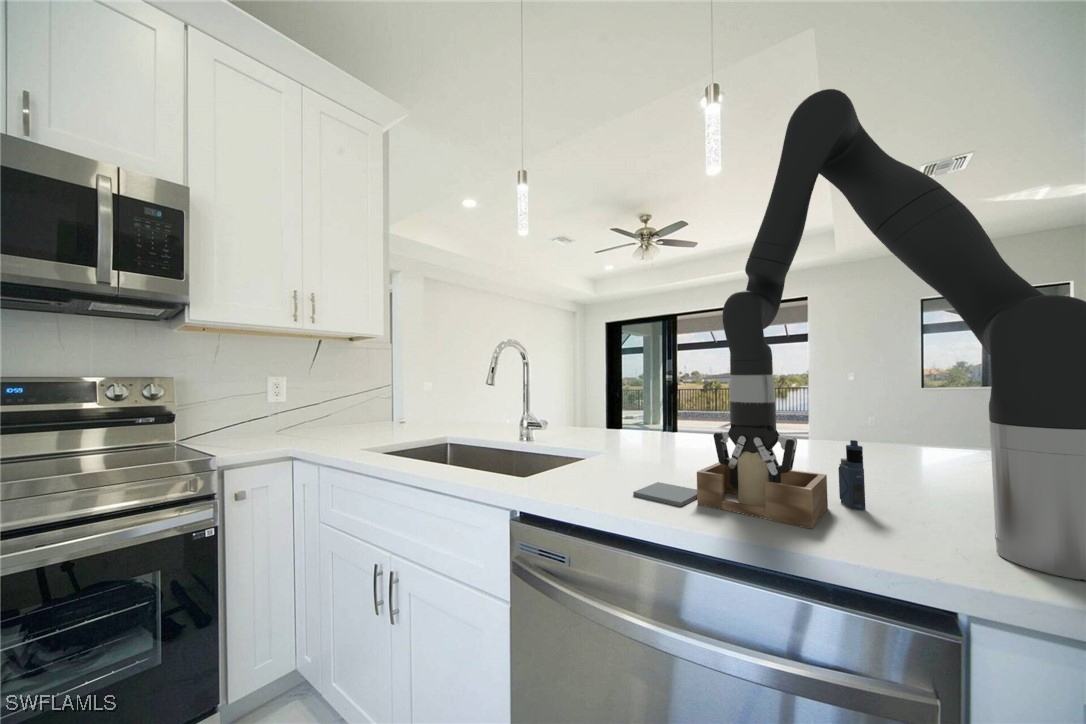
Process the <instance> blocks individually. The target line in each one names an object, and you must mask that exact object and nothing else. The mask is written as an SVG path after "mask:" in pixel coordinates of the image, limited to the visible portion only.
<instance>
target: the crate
mask: <svg viewBox="0 0 1086 724" xmlns="http://www.w3.org/2000/svg"><path fill="white" fill-rule="evenodd" d="M827 475H828V474H825V473H818V472H811V471H803V470H802V471H801V470H796V469H795V470H794V469H792V470H790V471H789V472H788V473H781V484H780V483H774V482H767V481H766V482H765V508H763V507H758V506H753V505H748V504H743V503H739V501H738V502H737V501H733V500H727V499H725V493H727V492H726V491H728V493H733V492H734V493H733V494H738V489H734V488H733V485H731V483H730V469H729V467H728V466H726V465H724V464H720V463H719V461H718V462H716V463H714V464H712V465H710V466H707V467H704V468H701V469H700V470H697V471H696V489H697V499H696V500H697V501H696V502H697V503H698V504H697V505H699V504H702V505H701V506H704V505H706V506H705V507H708V506H710V507H709V508H713V507H715V508H714V509H718V508H720V509H719V510H722V509H725V510H724V511H727V510H730V511H729V512H731V511H735V512H734V513H736V512H739V513H738V514H740V513H744V514H743V515H745V514H748V515H747V516H750V515H753V516H752V517H754V516H757V517H756V518H759V517H762V518H761V519H763V518H766V519H765V520H768V519H770V520H769V521H773V522H777V521H778V523H783V524H787V525H792V526H797V527H800V526H802V528H805V527H806V529H809V528H811V529H810V530H813V529H814V527H815V526H816V525H817V524H816V523H818V522H819V521H820V519H821V518H822V517H823V516H824V515H825V513H826V512H827V511H828V509H829V506H828V501H829V500H828V479H827V478H828V477H827ZM812 528H813V529H812Z"/></svg>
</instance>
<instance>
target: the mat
mask: <svg viewBox="0 0 1086 724" xmlns="http://www.w3.org/2000/svg"><path fill="white" fill-rule="evenodd" d="M632 493H633V494H632V496H633V497H637V498H640V497H641V499H645V500H650V501H655V502H659V503H662V502H663V504H666V503H667V505H671V504H672V505H671V506H675V505H677V506H676V507H680V506H682V507H684V506H686V505H688V504H689V502H690V501H691V502H693V501H695V500H697V499H696V498H697V488H696V489H695V488H691V487H685V486H680V485H676V484H670V483H664V482H660V481H657V482H654V483H652V484H650V485H649V484H648V485H647V486H645V487H642V488H639V489H637V490H634V491H633V492H632ZM694 499H695V500H694ZM692 500H693V501H692ZM691 502H690V503H691ZM687 503H688V504H687ZM685 504H686V505H685ZM683 505H684V506H683Z"/></svg>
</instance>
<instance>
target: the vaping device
mask: <svg viewBox="0 0 1086 724" xmlns="http://www.w3.org/2000/svg"><path fill="white" fill-rule="evenodd" d="M849 442H850V443H849V444H846V445H845V453H846V454H845V456H846V458H840V463H839V464H838V465H839V466H838V490H839V492H838V493H839V499H840V503H841V504H842V505H844V506H845V507H847V508H848V509H851V510H856V511H867V510H866V489H865V488H866V486H865V484H866V483H865V468H864V454H863V451H864V450H863V448H864V447H863V446H862V445H858V443H859V441H858V440H854V439H851V440H849Z"/></svg>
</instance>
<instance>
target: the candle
mask: <svg viewBox="0 0 1086 724" xmlns="http://www.w3.org/2000/svg"><path fill="white" fill-rule="evenodd" d="M765 456H766V455H765ZM737 463H738V493H737V495H738V503H743V504H748V505H753V506H758V507H763V508H765V482H766V481H767V482H769V474H771V473H770V471H769V469H768V467H767V463H766V462H764V461H763V458H762V456H761V454H759V452H756V453H750V452H746V451H745V452H743V453H741V455H740V456H739V458H738V462H737Z"/></svg>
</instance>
